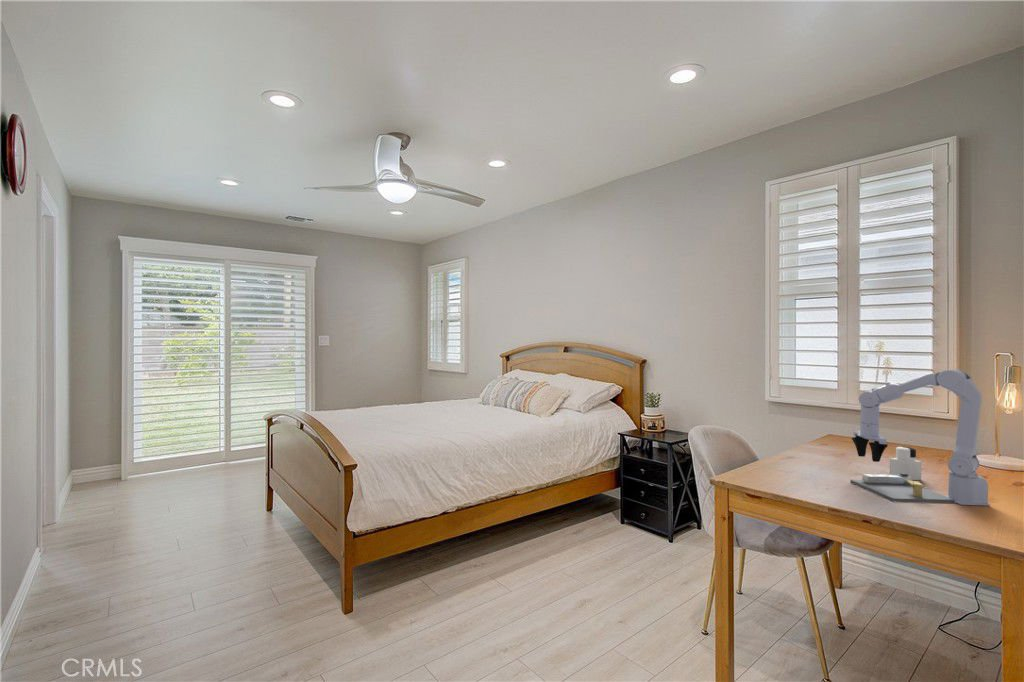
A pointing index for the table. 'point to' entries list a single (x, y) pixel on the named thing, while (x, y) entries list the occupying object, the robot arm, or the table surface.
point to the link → (885, 478)
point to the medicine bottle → (906, 463)
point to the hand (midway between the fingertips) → (868, 458)
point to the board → (902, 492)
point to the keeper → (916, 488)
